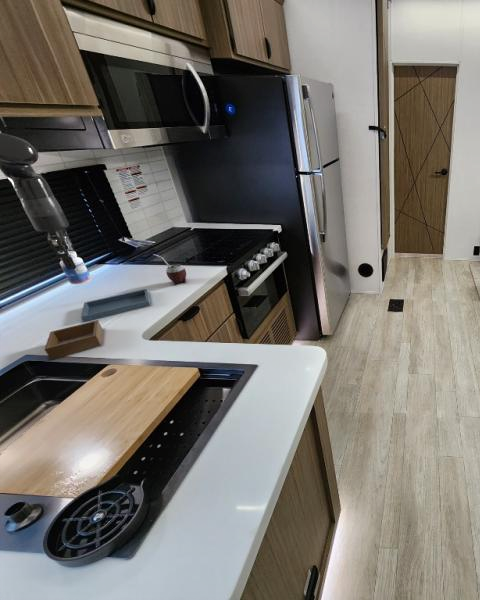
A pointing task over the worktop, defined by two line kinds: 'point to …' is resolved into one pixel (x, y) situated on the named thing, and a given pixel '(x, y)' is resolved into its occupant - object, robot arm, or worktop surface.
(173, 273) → the mate gourd
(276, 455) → the worktop surface
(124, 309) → the tray
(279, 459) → the worktop surface
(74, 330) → the basket
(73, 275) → the pill bottle
